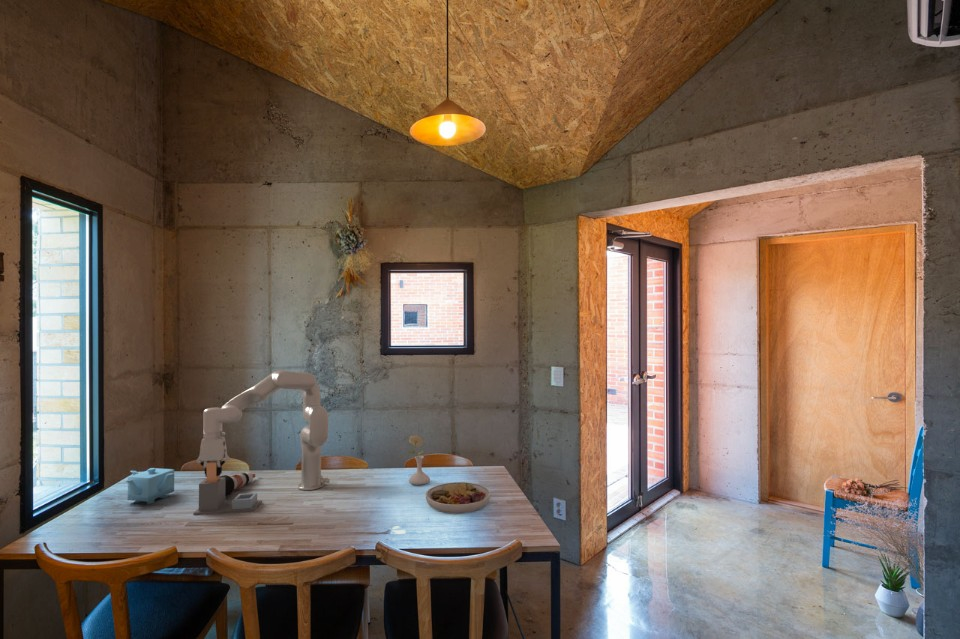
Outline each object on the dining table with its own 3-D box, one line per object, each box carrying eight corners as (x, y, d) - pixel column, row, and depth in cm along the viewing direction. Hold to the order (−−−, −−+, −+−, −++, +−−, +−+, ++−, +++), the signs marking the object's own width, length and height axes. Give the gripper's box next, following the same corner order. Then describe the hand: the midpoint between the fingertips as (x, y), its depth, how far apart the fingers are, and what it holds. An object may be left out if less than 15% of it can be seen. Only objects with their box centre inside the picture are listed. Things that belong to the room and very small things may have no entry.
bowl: (412, 504, 213) (412, 487, 213) (458, 487, 235) (458, 472, 235) (457, 522, 192) (457, 503, 192) (503, 502, 214) (503, 485, 214)
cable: (256, 488, 247) (265, 471, 248) (214, 506, 214) (224, 486, 214) (241, 479, 249) (250, 462, 250) (196, 495, 215) (207, 475, 216)
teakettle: (174, 490, 233) (174, 461, 233) (174, 501, 217) (174, 470, 218) (127, 498, 222) (127, 467, 223) (123, 510, 207) (124, 477, 207)
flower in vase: (434, 482, 243) (434, 434, 243) (420, 488, 233) (420, 439, 234) (415, 478, 250) (415, 432, 250) (401, 484, 240) (401, 436, 241)
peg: (219, 481, 210) (219, 460, 210) (216, 484, 206) (216, 462, 206) (210, 482, 209) (210, 460, 209) (206, 485, 205) (206, 463, 206)
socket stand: (261, 502, 216) (261, 474, 216) (253, 511, 205) (253, 482, 205) (204, 505, 212) (204, 477, 212) (193, 515, 201) (193, 485, 201)
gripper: (235, 432, 213) (236, 471, 213) (197, 434, 210) (197, 474, 210) (229, 436, 206) (229, 477, 205) (189, 438, 203) (189, 479, 203)
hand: (213, 475), depth 208 cm, fingers closed on peg, 4 cm apart
